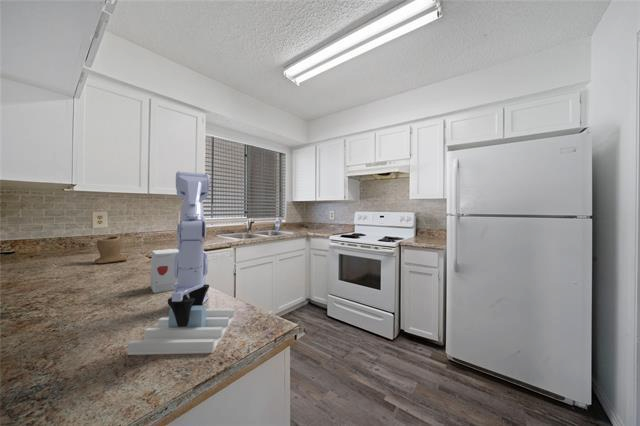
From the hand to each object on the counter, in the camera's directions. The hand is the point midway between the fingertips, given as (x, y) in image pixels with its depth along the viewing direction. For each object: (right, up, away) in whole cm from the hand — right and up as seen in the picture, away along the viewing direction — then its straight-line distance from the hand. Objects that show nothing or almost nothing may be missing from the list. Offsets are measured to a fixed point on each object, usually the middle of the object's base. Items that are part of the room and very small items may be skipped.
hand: (189, 319), depth 63 cm
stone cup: (-85, -1, +75) cm, 113 cm away
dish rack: (0, -4, 0) cm, 4 cm away
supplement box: (-28, -3, +34) cm, 44 cm away
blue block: (-1, -3, 0) cm, 3 cm away
